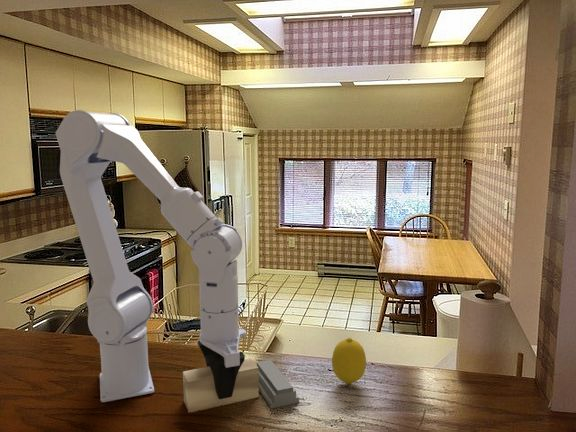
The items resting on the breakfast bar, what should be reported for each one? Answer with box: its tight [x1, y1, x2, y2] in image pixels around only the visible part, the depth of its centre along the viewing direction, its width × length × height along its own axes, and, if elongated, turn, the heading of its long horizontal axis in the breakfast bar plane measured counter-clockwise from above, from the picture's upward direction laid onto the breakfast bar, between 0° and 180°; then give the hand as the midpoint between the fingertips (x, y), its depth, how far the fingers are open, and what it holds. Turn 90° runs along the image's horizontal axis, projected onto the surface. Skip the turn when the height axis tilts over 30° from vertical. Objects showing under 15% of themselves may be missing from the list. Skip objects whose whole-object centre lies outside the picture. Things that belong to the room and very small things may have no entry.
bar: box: [182, 357, 260, 414], centre depth 75 cm, size 4×11×5 cm, turn 114°
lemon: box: [331, 337, 367, 386], centre depth 79 cm, size 6×6×8 cm
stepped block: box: [256, 359, 300, 409], centre depth 77 cm, size 10×4×3 cm, turn 22°
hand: (221, 390), depth 75 cm, fingers closed on bar, 4 cm apart
